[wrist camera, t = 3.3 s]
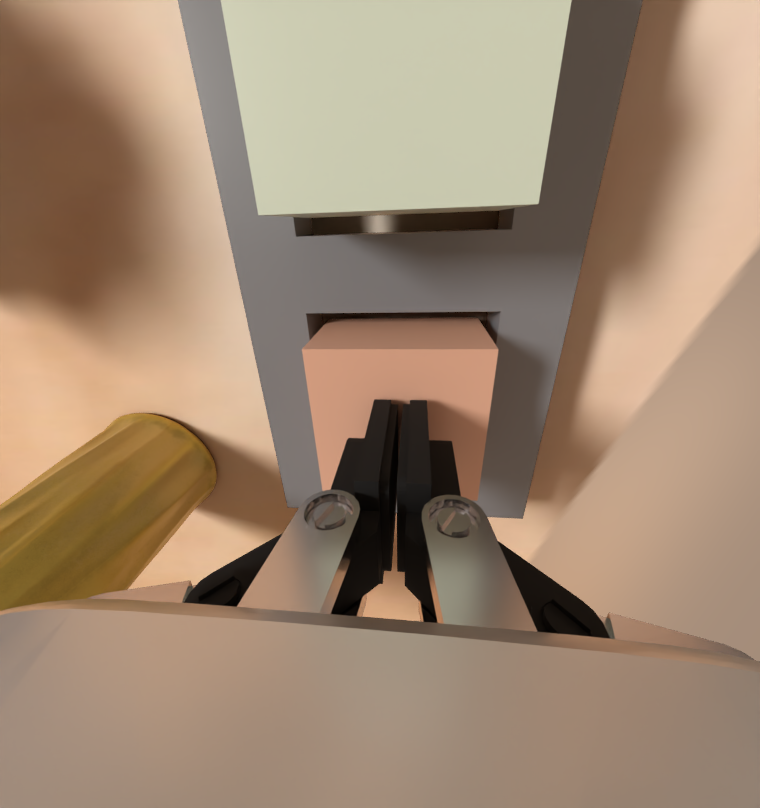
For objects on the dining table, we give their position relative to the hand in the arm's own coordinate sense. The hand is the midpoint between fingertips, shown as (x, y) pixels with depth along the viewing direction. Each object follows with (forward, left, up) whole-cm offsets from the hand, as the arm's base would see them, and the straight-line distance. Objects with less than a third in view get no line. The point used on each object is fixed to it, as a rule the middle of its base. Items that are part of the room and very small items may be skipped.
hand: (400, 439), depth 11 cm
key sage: (-9, 0, -2) cm, 10 cm away
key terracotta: (0, 0, -4) cm, 4 cm away
